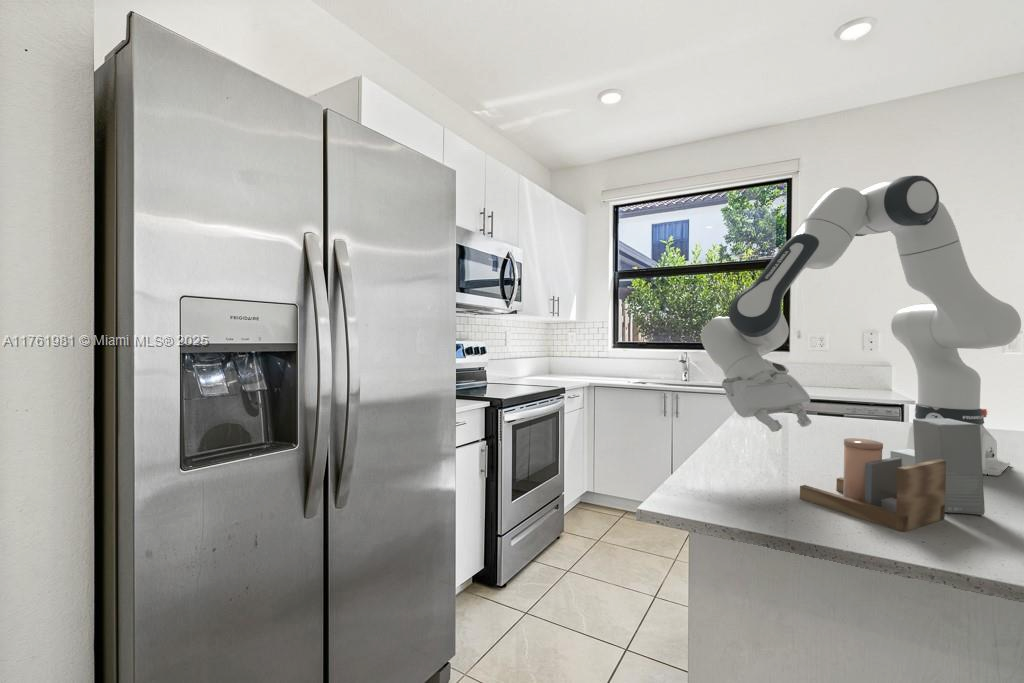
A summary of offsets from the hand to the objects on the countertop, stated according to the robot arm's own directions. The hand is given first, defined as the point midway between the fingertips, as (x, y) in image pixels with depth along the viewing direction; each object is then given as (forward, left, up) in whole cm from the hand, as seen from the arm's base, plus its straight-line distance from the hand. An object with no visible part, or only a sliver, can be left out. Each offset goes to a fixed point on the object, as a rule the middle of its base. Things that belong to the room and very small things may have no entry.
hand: (793, 427), depth 101 cm
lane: (0, +15, -12) cm, 19 cm away
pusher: (0, +18, -12) cm, 22 cm away
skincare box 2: (-14, +20, -12) cm, 27 cm away
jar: (0, +14, -12) cm, 18 cm away
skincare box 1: (-21, +12, -12) cm, 27 cm away
